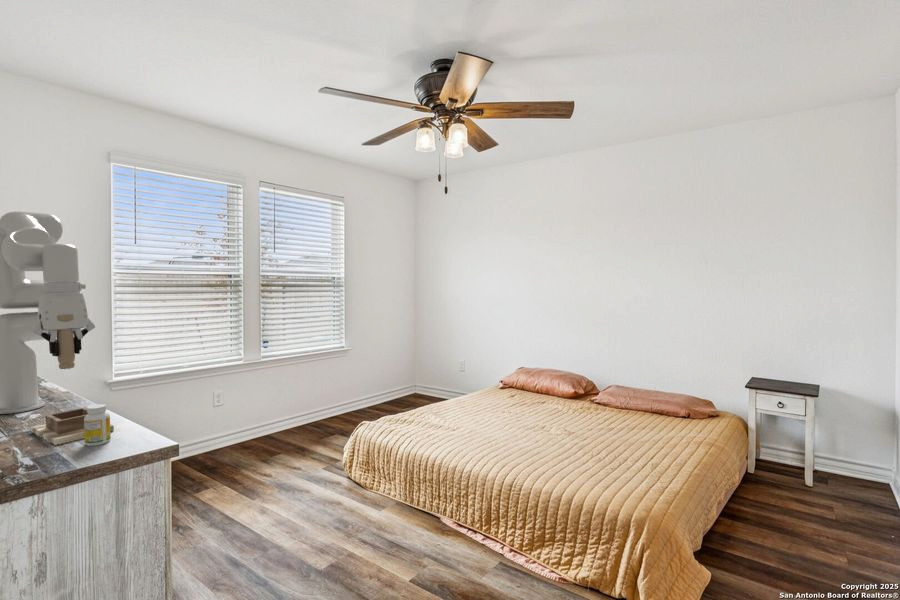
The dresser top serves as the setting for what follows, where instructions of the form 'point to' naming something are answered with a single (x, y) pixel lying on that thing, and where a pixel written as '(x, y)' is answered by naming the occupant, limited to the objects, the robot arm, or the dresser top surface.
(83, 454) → the dresser top surface
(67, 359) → the handle
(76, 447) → the dresser top surface
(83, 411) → the wooden base with box
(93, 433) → the supplement bottle
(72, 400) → the dresser top surface
